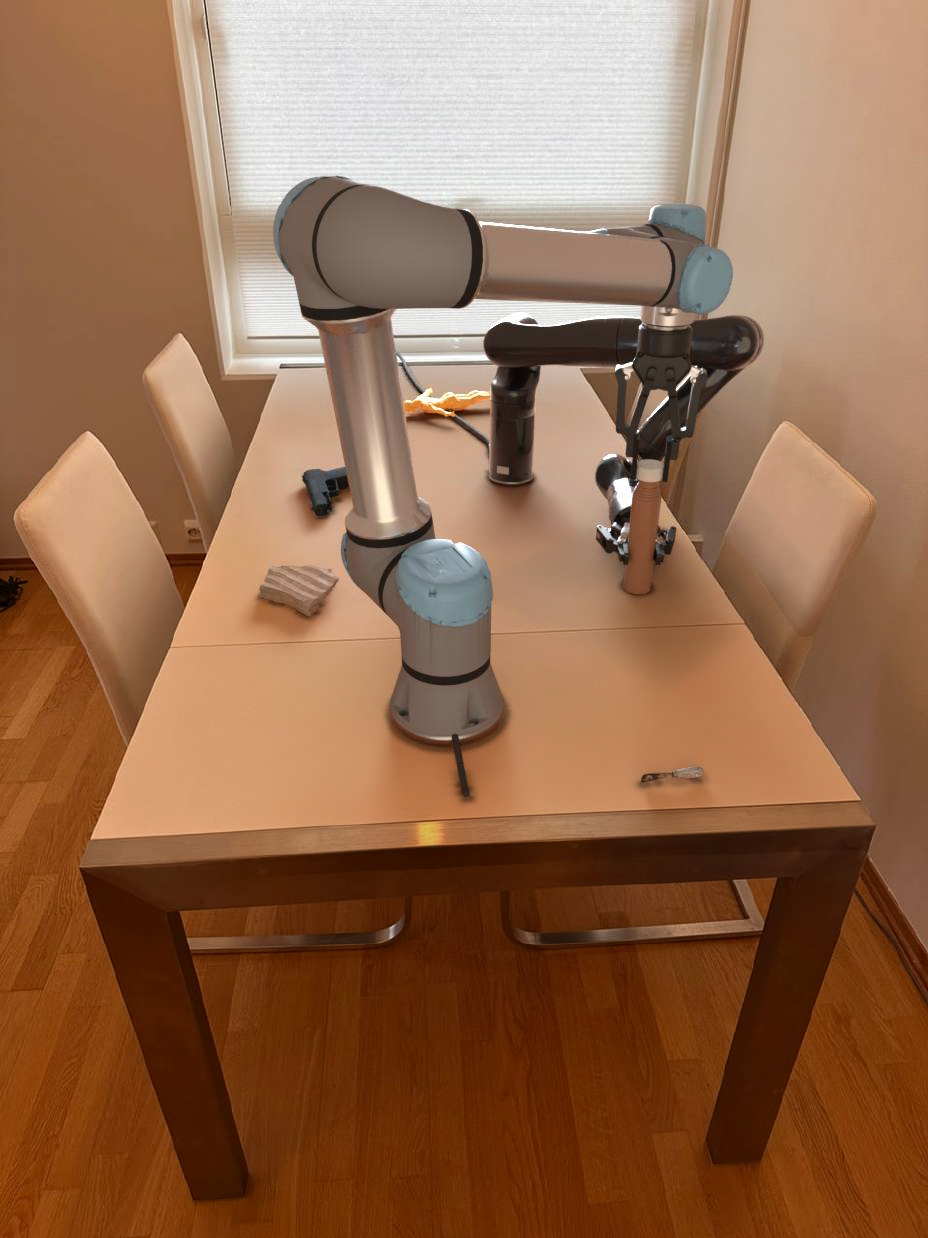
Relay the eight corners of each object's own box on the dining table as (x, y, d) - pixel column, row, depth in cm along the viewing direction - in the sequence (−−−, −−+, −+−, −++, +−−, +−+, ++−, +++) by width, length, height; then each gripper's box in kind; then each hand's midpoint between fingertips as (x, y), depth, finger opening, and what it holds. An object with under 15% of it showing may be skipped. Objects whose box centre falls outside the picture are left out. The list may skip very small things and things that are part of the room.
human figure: (395, 413, 223) (394, 398, 221) (438, 390, 237) (438, 375, 235) (462, 429, 215) (462, 413, 213) (502, 404, 229) (503, 388, 227)
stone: (348, 583, 151) (347, 570, 149) (311, 618, 141) (310, 604, 140) (283, 570, 155) (281, 557, 154) (243, 602, 146) (241, 589, 144)
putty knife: (703, 777, 109) (705, 767, 109) (642, 788, 108) (644, 777, 107) (700, 772, 110) (702, 762, 109) (639, 782, 109) (640, 771, 108)
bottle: (633, 577, 152) (646, 460, 141) (655, 587, 150) (670, 467, 138) (617, 587, 150) (629, 468, 138) (639, 597, 147) (654, 476, 135)
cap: (656, 484, 136) (658, 471, 135) (630, 478, 138) (631, 466, 137) (667, 475, 140) (668, 462, 138) (641, 469, 142) (642, 457, 140)
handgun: (372, 511, 175) (311, 519, 173) (357, 476, 189) (301, 482, 187) (371, 496, 173) (310, 504, 171) (356, 462, 188) (299, 468, 185)
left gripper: (603, 328, 125) (591, 483, 137) (730, 333, 122) (706, 490, 135) (606, 315, 131) (594, 464, 144) (726, 320, 128) (704, 471, 141)
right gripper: (592, 494, 156) (599, 538, 142) (674, 495, 156) (690, 540, 141) (589, 533, 160) (596, 579, 146) (669, 534, 160) (684, 581, 145)
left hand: (648, 477), depth 139 cm, fingers closed on cap, 4 cm apart
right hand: (642, 560), depth 144 cm, fingers closed on bottle, 4 cm apart
